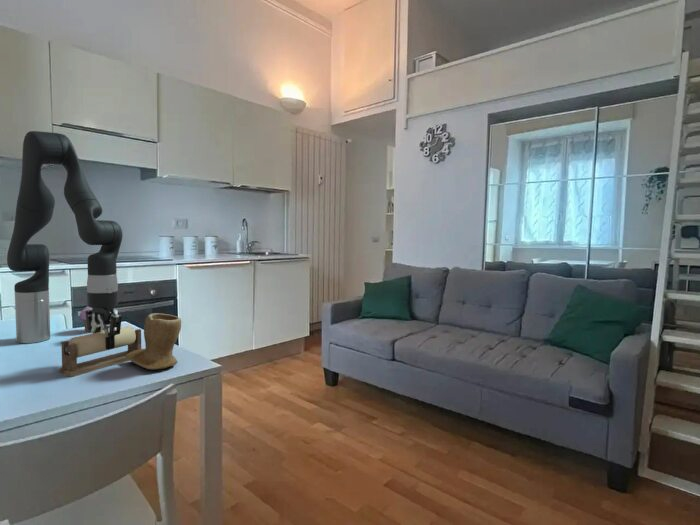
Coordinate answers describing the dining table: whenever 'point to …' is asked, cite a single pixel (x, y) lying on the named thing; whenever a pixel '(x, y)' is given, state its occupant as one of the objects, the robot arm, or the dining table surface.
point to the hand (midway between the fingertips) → (103, 347)
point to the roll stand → (75, 369)
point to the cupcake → (83, 316)
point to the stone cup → (157, 342)
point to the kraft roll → (101, 341)
